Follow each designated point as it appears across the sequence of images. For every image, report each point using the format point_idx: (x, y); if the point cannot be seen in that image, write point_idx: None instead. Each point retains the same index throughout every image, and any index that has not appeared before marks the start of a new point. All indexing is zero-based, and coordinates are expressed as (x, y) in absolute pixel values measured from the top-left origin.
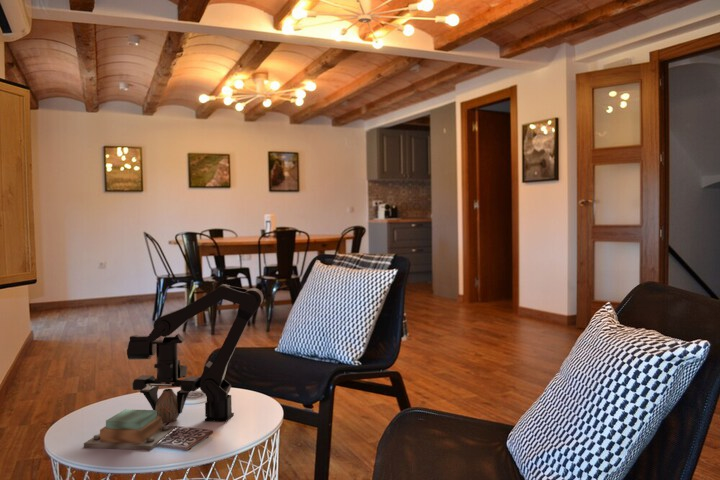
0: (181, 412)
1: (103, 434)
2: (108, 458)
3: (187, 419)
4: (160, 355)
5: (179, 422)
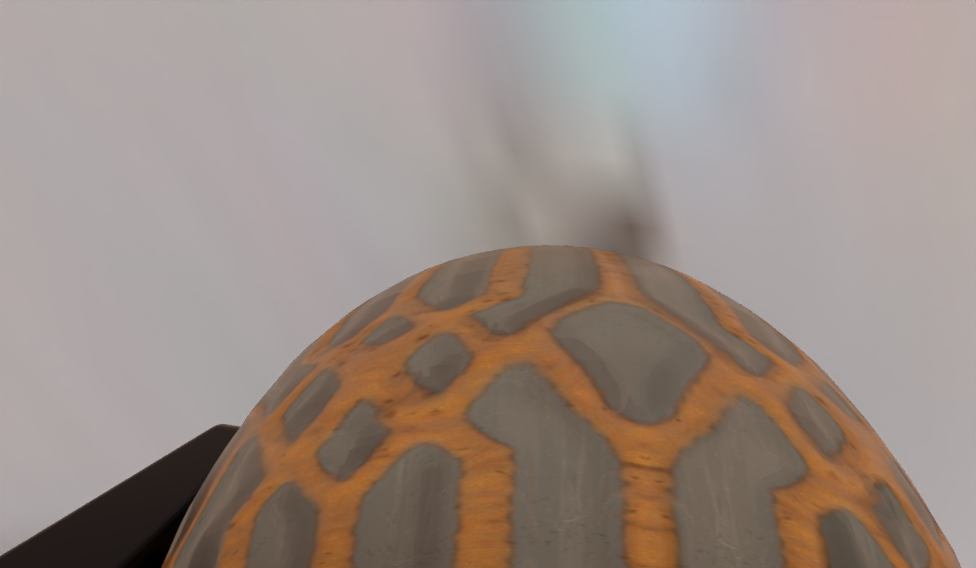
0: None
1: None
2: None
3: (940, 388)
4: None
5: None
